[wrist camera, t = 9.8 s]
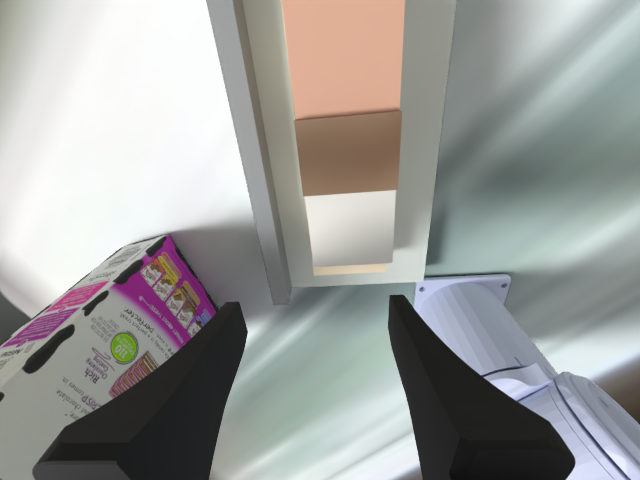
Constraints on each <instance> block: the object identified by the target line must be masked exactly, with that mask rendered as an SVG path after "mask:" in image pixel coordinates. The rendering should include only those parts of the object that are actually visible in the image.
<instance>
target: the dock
mask: <svg viewBox="0 0 640 480" xmlns="http://www.w3.org/2000/svg"><path fill="white" fill-rule="evenodd" d="M206 2H207V6H208V11H209V15H210V20H211V24H212V29H213V33H214V38H215V42H216V47H217V51H218V56H219V60H220V65H221V69H222V74H223V79H224V83H225V88H226V92H227V97H228V101H229V106H230V110H231V115H232V119H233V124H234V128H235V133H236V137H237V142H238V146H239V151H240V156H241V160H242V165H243V169H244V174H245V178H246V183H247V187H248V192H249V196H250V201H251V205H252V210H253V214H254V219H255V223H256V228H257V233H258V237H259V242H260V246H261V251H262V255H263V260H264V264H265V269H266V273H267V278H268V282H269V287H270V291H271V296H272V300H273V305H285V304H289V300H290V295H291V290H292V288H299V287H320V286H341V285H362V284H383V283H404V282H423V280H424V272H425V263H426V255H427V247H428V238H429V230H430V221H431V213H432V205H433V196H434V188H435V180H436V171H437V163H438V155H439V146H440V138H441V130H442V121H443V113H444V105H445V96H446V88H447V80H448V71H449V63H450V55H451V46H452V38H453V29H454V21H455V13H456V4H457V0H405V12H404V32H403V52H402V73H401V93H400V111H402V125H401V143H400V162H399V181H398V190H396V199H395V219H394V240H393V261H392V263H386V272H375V273H356V274H336V275H316V276H314V273H313V264H312V256H311V248H310V239H309V231H308V223H307V214H306V206H305V198H304V197H303V192H302V183H301V175H300V167H299V159H298V151H297V142H296V134H295V126H294V120H295V114H294V106H293V97H292V89H291V81H290V72H289V64H288V56H287V47H286V39H285V30H284V22H283V14H282V5H281V0H206Z"/></svg>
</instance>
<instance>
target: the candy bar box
mask: <svg viewBox="0 0 640 480" xmlns="http://www.w3.org/2000/svg"><path fill="white" fill-rule="evenodd" d="M217 312H218V309H217V307H216V306H215V304H214V303H213V301H212V300H211V298H210V297H209V295H208V294H207V292H206V291H205V289H204V288H203V286H202V285H201V283H200V282H199V280H198V279H197V277H196V276H195V274H194V273H193V271H192V270H191V268H190V267H189V265H188V264H187V262H186V261H185V259H184V258H183V256H182V255H181V253H180V252H179V250H178V249H177V247H176V246H175V244H174V243H173V241H172V240H171V238H170V237H169V235H168V234H165V235H162V236H158V237H155V238H152V239H149V240H146V241H141V242H137V243H133V244H130V245H127V246H124V247H122V248H120V249H119V250H118V251H116V252H115V253H114V254H113V255H111V256H110V257H109V258H107V259H106V260H105V261H104V262H103V263H101V264H100V265H99V266H98V267H96V268H95V269H94V270H93V271H91V272H90V273H89V274H88V275H86V276H85V277H84V278H82V279H81V280H80V281H79V282H78V283H76V284H75V285H74V286H73V287H71V288H70V289H69V290H68V291H66V292H65V293H64V294H63V295H61V296H60V297H59V298H58V299H56V300H55V301H54V302H53V303H51V304H50V305H49V306H47V307H46V308H45V309H44V310H42V311H41V312H40V313H39V314H37V315H36V316H35V317H34V318H32V319H31V320H30V321H29V322H28V323H27V324H25V325H24V326H22V327H21V328H20V329H19V330H17V331H16V332H15V333H14V334H13V335H11V336H10V337H8V338H7V339H6V340H5V341H3V342H2V343H1V344H0V480H35V479H34V477H33V475H32V470H33V467H34V466H35V464H36V463H37V462H38V460H39V459H40V458H41V456H42V455H43V454H44V453H45V451H46V450H47V449H48V447H49V446H50V445H51V444H52V442H53V441H54V440H55V438H56V437H57V436H58V435H59V433H60V432H61V431H62V430H63V428H64V427H65V426H67V425H69V424H71V423H73V422H74V421H76V420H78V419H80V418H81V417H83V416H85V415H87V414H89V413H90V412H92V411H94V410H96V409H97V408H99V407H101V406H102V405H104V404H106V403H107V402H109V401H110V400H112V399H114V398H115V397H117V396H118V395H120V394H121V393H123V392H124V391H126V390H127V389H129V388H130V387H132V386H133V385H135V384H136V383H137V382H139V381H140V380H142V379H143V378H144V377H146V376H147V375H149V374H150V373H151V372H153V371H154V370H155V369H157V368H158V367H159V366H160V365H162V364H163V363H164V362H165V361H166V360H168V359H169V358H170V357H171V356H172V355H174V354H175V353H176V352H177V351H178V350H179V349H180V348H181V347H182V346H183V345H185V344H186V343H187V342H188V341H189V340H190V339H191V338H192V337H193V336H194V335H195V334H196V333H197V332H198V331H199V330H200V329H201V328H202V327H203V326H204V325H205V324H206V323H207V322H208V321H209V320H210V319H211V318H212V317H213V316H214V315H215V314H216V313H217Z"/></svg>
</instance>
